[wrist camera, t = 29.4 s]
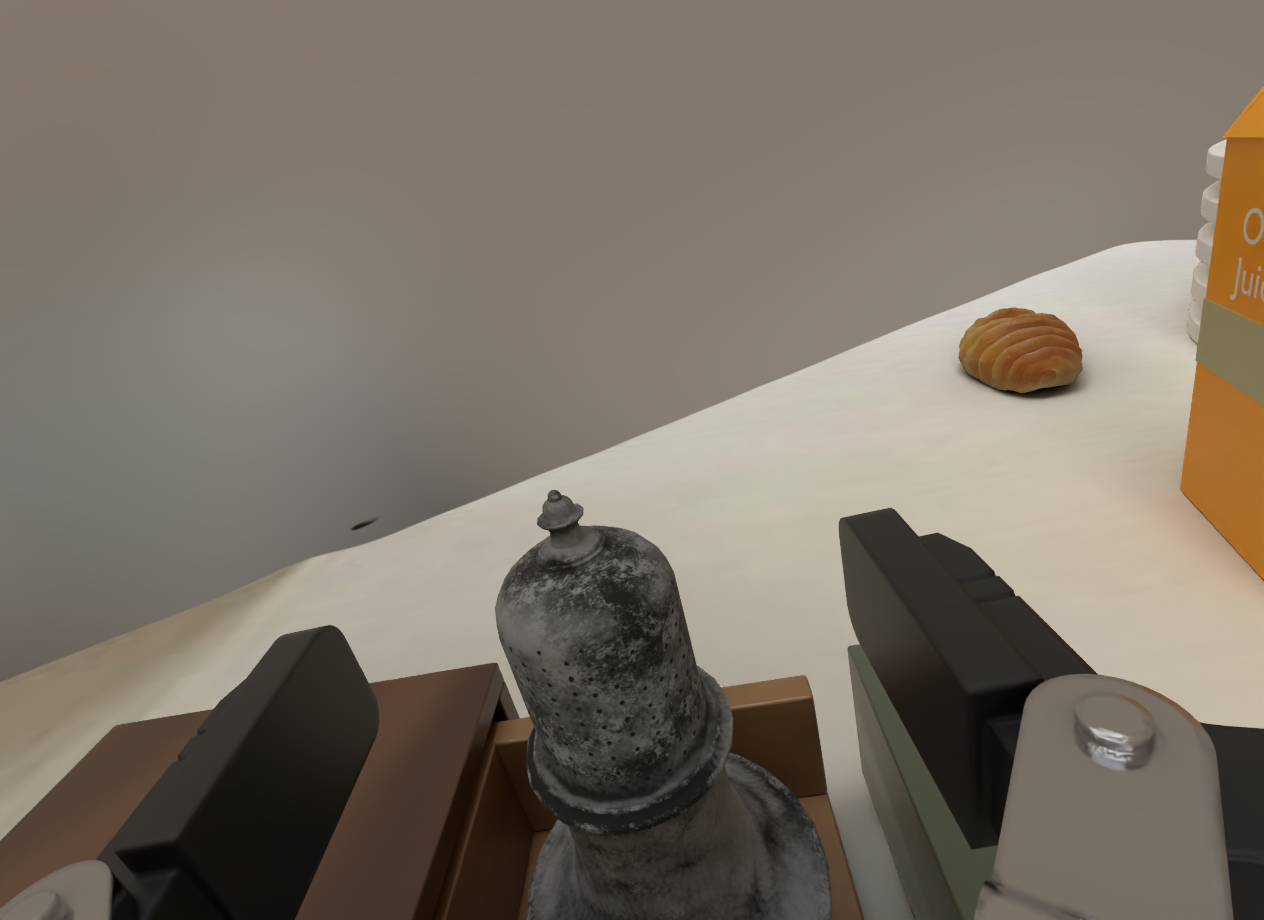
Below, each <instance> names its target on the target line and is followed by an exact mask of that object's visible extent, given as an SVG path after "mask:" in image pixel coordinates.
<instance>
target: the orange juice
mask: <svg viewBox="0 0 1264 920" xmlns="http://www.w3.org/2000/svg"><path fill="white" fill-rule="evenodd" d="M1223 137H1227V141H1226V148H1225V156H1224V163H1223V171H1222V178H1221V186H1220V193H1219V201H1218V208H1217V216H1216V223H1215V231H1214V238H1213V246H1212V253H1211V261H1210V268H1209V276H1208V283H1207V291H1206V298H1204V301H1203V308H1202V316H1201V323H1200V331H1199V338H1198V346H1197V354H1196V361H1197V366H1196V373H1195V381H1194V388H1193V396H1192V403H1191V411H1190V418H1189V426H1188V433H1187V441H1186V448H1185V456H1184V463H1183V471H1182V478H1181V486H1180V490H1181V491H1182V492H1183V493H1184V494H1185V495H1186V496H1187V497H1188V498H1189V499H1190V500H1191V501H1192V503H1193V504H1194V505H1195V506H1196V507H1197V508H1198V509H1199V510H1200V511H1201V512H1202V513H1203V515H1204V516H1205V517H1206V518H1207V519H1208V520H1209V521H1210V522H1211V523H1212V524H1213V525H1214V526H1215V528H1216V529H1217V530H1218V531H1219V532H1220V533H1221V534H1222V535H1223V536H1224V537H1225V538H1226V539H1227V541H1228V542H1229V543H1230V544H1231V545H1232V546H1233V547H1234V548H1235V549H1236V550H1237V551H1238V552H1239V554H1240V555H1241V556H1242V557H1243V558H1244V559H1245V560H1246V561H1247V562H1248V563H1249V564H1250V566H1251V567H1252V568H1253V569H1254V570H1255V571H1256V572H1257V573H1258V574H1259V575H1260V576H1261V577H1262V579H1263V580H1264V86H1263V87H1262V88H1261V90H1260V91H1259V92H1258V93H1257V95H1256V96H1255V97H1254V98H1253V100H1252V101H1251V102H1250V104H1249V105H1248V106H1247V107H1246V108H1245V110H1244V111H1243V112H1242V113H1241V114H1240V116H1239V117H1238V118H1237V120H1236V121H1235V122H1234V123H1233V125H1232V126H1231V127H1230V128H1229V129H1228V131H1227V132H1226V133H1225V134H1224V136H1223Z"/></svg>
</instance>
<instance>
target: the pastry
mask: <svg viewBox="0 0 1264 920" xmlns="http://www.w3.org/2000/svg"><path fill="white" fill-rule="evenodd" d="M959 348H960V352H959V360H960V362H961V364H962V366H963V368H965V370H966V371H967V373H968V374H970V375H972V376H973V377H974V378H978V379H979V380H981V381H982V382H983V383H984V384H989V385H990V386H991V387H994V388H996V389H998V390H1013V391H1016V392H1020V393H1025V392H1029V391H1034V390H1036V389H1040V388H1045V387H1054V386H1060V385H1067V384H1069V385H1070V384H1071V383H1072V381H1073V380H1074V379H1075V378H1076V376H1077V375H1078V374H1079V373H1080V372H1081V371H1082V363H1081V361H1082V354H1081V353H1082V350H1081V349H1080V348H1079V343H1078V340H1077V338H1076V335H1075V334H1074V332H1073V331H1072V330H1071V329H1070V328H1069V327H1068V326H1067V325H1066V324H1065V323H1064V322H1063V321H1061V320H1060V319H1058V318H1057V317H1056V316H1054V315H1051V314H1043V313H1041V314H1035V312H1034V311H1032V310H1027V309H1019V308H1008V309H1000V310H997V311H995V312H993V313H991V314H990V315H988V316H987V317H985V318H979V319H977V320H976V321H975V323H974V324H973V325H972V326H971V327H970V328H969V329H968V330H967V331H966V332H965V335H964V337H963V338H962V340H961V342H960V345H959Z"/></svg>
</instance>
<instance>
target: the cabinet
mask: <svg viewBox="0 0 1264 920" xmlns="http://www.w3.org/2000/svg"><path fill="white" fill-rule="evenodd" d="M369 685H370V687H371V689H372V691H373V693H374V695H375V697H376V700H377V703H378V708H379V727H378V732H377V736H376V739H375V741H374V743H373V746H372V748H371V750H370V752H369V755H368V757H367V759H366V761H365V764H364V766H363V768H362V770H361V772H360V775H359V777H358V779H357V781H356V784H355V786H354V788H353V790H352V793H351V795H350V797H349V799H348V802H347V804H346V806H345V808H344V811H343V813H342V815H341V817H340V820H339V822H338V824H337V826H336V829H335V831H334V833H333V835H332V838H331V840H330V842H329V844H328V847H327V849H326V851H325V853H324V856H323V858H322V860H321V862H320V865H319V867H318V869H317V871H316V874H315V876H314V878H313V880H312V883H311V885H310V887H309V889H308V892H307V894H306V896H305V898H304V901H303V903H302V905H301V907H300V910H299V912H298V914H297V916H296V919H295V920H432V917H433V914H434V910H435V907H436V904H437V900H438V897H439V894H440V890H441V887H442V884H443V880H444V877H445V874H446V871H447V867H448V864H449V861H450V857H451V854H452V851H453V847H454V844H455V841H456V837H457V834H458V831H459V827H460V824H461V821H462V818H463V814H464V811H465V808H466V804H467V801H468V798H469V794H470V791H471V788H472V784H473V781H474V778H475V774H476V771H477V768H478V765H479V761H480V758H481V755H482V751H483V748H484V745H485V741H486V738H487V735H488V731H489V728H490V725H491V723H494V722H501V721H508V720H514V719H520V718H519V715H518V713H517V710H516V708H515V705H514V703H513V701H512V698H511V696H510V693H509V691H508V688H507V686H506V683H505V682H504V679H503V676H502V674H501V671H500V669H499V666H498V664H497V663H490V664H484V665H478V666H472V667H466V668H460V669H454V670H447V671H441V672H435V673H429V674H423V675H417V676H411V677H405V678H399V679H393V680H387V681H381V682H375V683H369ZM213 710H214V709H212V710H206V711H200V712H194V713H188V714H182V715H175V716H169V717H163V718H157V719H151V720H145V721H139V722H133V723H127V724H121V725H116V726H115V727H113V728H112V729H111V730H110V731H109V732H108V733H107V734H106V735H105V736H104V737H103V738H102V739H101V740H100V741H99V742H98V743H97V744H96V745H95V746H94V747H93V748H92V749H91V750H90V751H89V752H88V754H87V755H86V756H85V757H84V758H83V759H82V760H81V761H80V762H79V763H78V764H77V765H76V766H75V767H74V768H73V769H72V770H71V771H70V772H69V773H68V774H67V775H66V776H65V777H64V778H63V779H62V780H61V781H60V782H59V783H58V784H57V785H56V786H55V787H54V788H53V789H52V790H51V791H50V792H49V793H48V794H47V795H46V796H45V797H44V798H43V799H42V800H41V801H40V802H39V803H38V804H37V805H36V806H35V807H34V808H33V809H32V810H31V811H30V812H29V813H28V814H27V815H26V816H25V817H24V818H23V819H22V820H21V821H20V822H19V823H18V824H17V825H16V826H15V827H14V828H13V829H12V830H11V831H10V832H9V833H8V834H7V835H6V836H5V837H4V838H3V839H2V840H1V841H0V909H1V908H2V907H3V906H4V905H5V904H7V903H8V902H9V901H10V900H12V899H13V898H14V897H15V896H17V895H18V894H20V893H21V892H22V891H24V890H25V889H26V888H28V887H29V886H31V885H33V884H34V883H36V882H37V881H39V880H40V879H42V878H44V877H46V876H47V875H49V874H51V873H53V872H55V871H57V870H59V869H61V868H63V867H66V866H68V865H71V864H74V863H77V862H82V861H86V860H96V858H97V857H98V856H99V855H100V853H101V852H102V851H103V849H104V848H105V847H106V846H107V844H108V843H109V842H110V841H111V839H112V838H113V837H114V835H115V834H116V833H117V832H118V830H119V829H120V828H121V827H122V825H123V824H124V823H125V821H126V820H127V819H128V818H129V816H130V815H131V814H132V813H133V811H134V810H135V809H136V807H137V806H138V805H139V804H140V802H141V801H142V800H143V799H144V797H145V796H146V795H147V793H148V792H149V791H150V790H151V788H152V787H153V786H154V785H155V783H156V782H157V781H158V779H159V778H160V777H161V776H162V774H163V773H164V772H165V771H166V769H167V768H168V767H169V766H170V764H171V763H172V762H176V761H177V760H178V756H177V755H178V754H179V753H180V752H181V750H182V749H183V748H184V746H185V745H186V744H187V743H188V741H189V740H190V739H191V738H192V737H193V736H197V730H198V729H199V727H200V726H201V725H202V724H203V722H204V721H205V720H206V718H207V717H208V716H209V715H210V713H211V712H212V711H213Z"/></svg>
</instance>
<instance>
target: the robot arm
mask: <svg viewBox="0 0 1264 920" xmlns="http://www.w3.org/2000/svg"><path fill="white" fill-rule="evenodd" d="M839 538H840V546H841V555H842V564H843V572H844V581H845V590H846V598H847V605H848V610H849V615H850V618H851V622H852V625H853V628H854V631H855V634H856V636H857V639H858V641H859V643H860V645H861V647H862V649H863V651H864V652H865V654H866V656H867V658H868V660H869V662H870V664H871V665H872V667H873V669H874V671H875V673H876V675H877V676H878V678H879V680H880V682H881V684H882V686H883V687H884V689H885V691H886V693H887V695H888V697H889V699H890V700H891V702H892V704H893V706H894V708H895V710H896V711H897V713H898V715H899V717H900V719H901V721H902V723H903V724H904V726H905V728H906V730H907V732H908V734H909V735H910V737H911V739H912V741H913V743H914V745H915V747H916V748H917V750H918V752H919V754H920V756H921V758H922V759H923V761H924V763H925V765H926V767H927V769H928V770H929V772H930V774H931V776H932V778H933V780H934V782H935V783H936V785H937V787H938V789H939V791H940V793H941V794H942V796H943V798H944V800H945V802H946V804H947V806H948V807H949V809H950V811H951V813H952V815H953V817H954V818H955V820H956V822H957V824H958V826H959V828H960V829H961V831H962V833H963V835H964V837H965V839H966V841H967V842H968V844H969V846H970V848H971V850H973V849H979V848H985V847H990V846H996V845H998V849H997V854H996V859H995V864H994V869H993V874H992V877H991V880H990V882H988V881H985V882H984V884H983V886H982V889H981V892H980V895H979V899H978V903H977V907H976V911H975V916H974V920H1264V729H1260V728H1246V727H1232V726H1221V725H1213V724H1205V723H1200V722H1198V721H1197V720H1196V719H1195V718H1194V717H1193V716H1192V715H1191V714H1190V713H1189V712H1187V711H1186V710H1185V709H1183V708H1182V707H1181V706H1179V705H1178V704H1177V703H1175V702H1173V701H1172V700H1170V699H1168V698H1167V697H1165V696H1163V695H1162V694H1160V693H1157V692H1155V691H1153V690H1151V689H1149V688H1147V687H1144V686H1142V685H1139V684H1136V683H1133V682H1130V681H1127V680H1123V679H1119V678H1115V677H1110V676H1104V675H1098V674H1097V673H1096V672H1095V671H1094V670H1093V669H1092V668H1091V667H1090V666H1089V665H1088V664H1087V663H1086V662H1085V661H1084V660H1083V659H1082V658H1081V657H1080V656H1079V655H1078V654H1077V653H1076V652H1075V651H1074V650H1073V649H1072V648H1071V647H1070V646H1069V645H1068V644H1067V643H1066V642H1065V641H1064V640H1063V639H1062V638H1061V637H1060V636H1059V635H1058V634H1057V633H1056V632H1055V631H1054V630H1053V629H1052V628H1051V627H1050V626H1049V625H1048V624H1047V623H1046V622H1045V621H1044V620H1043V619H1042V618H1041V617H1040V616H1039V615H1038V614H1037V613H1036V612H1035V611H1034V610H1033V609H1032V608H1031V607H1030V606H1029V605H1028V604H1027V603H1026V602H1025V601H1024V600H1023V599H1022V598H1021V597H1020V596H1015V594H1014V590H1013V589H1012V588H1011V587H1010V586H1009V585H1008V584H1007V583H1006V582H1005V581H1004V580H1003V579H1002V578H1001V577H1000V576H996V575H995V573H994V571H993V570H992V569H991V568H990V567H989V566H988V565H987V564H986V563H985V562H984V561H983V560H982V559H981V558H980V557H979V556H978V555H977V554H976V553H975V552H974V551H973V550H972V549H971V548H969V547H967V546H965V545H963V544H961V543H959V542H956V541H954V540H952V539H950V538H948V537H946V536H944V535H942V534H940V533H934V534H929V535H924V536H920V537H918V535H917V534H916V533H915V532H914V531H913V530H912V529H911V528H910V526H909V525H908V524H907V523H906V522H905V521H904V520H903V519H902V517H901V516H900V515H899V514H898V513H897V512H896V511H895V510H894V509H892V508H887V509H882V510H877V511H872V512H868V513H863V514H858V515H854V516H849V517H844V518H841V519H840V521H839ZM378 727H379V708H378V703H377V700H376V697H375V695H374V693H373V691H372V689H371V687H370V685H369V683H368V681H367V679H366V677H365V675H364V673H363V671H362V669H361V667H360V666H359V664H358V662H357V660H356V658H355V656H354V654H353V652H352V650H351V648H350V646H349V644H348V642H347V640H346V639H345V637H344V635H343V633H342V632H341V631H340V630H339V629H338V628H337V627H335V626H331V625H328V626H323V627H318V628H313V629H309V630H304V631H299V632H294V633H290V634H285V635H282V636H280V637H279V638H278V639H277V640H276V641H275V642H274V643H273V645H272V646H271V647H270V648H269V650H268V651H267V652H266V654H265V655H264V656H263V658H262V659H261V660H260V661H259V663H258V664H257V665H256V667H255V668H254V669H253V671H252V672H251V673H250V674H249V676H248V677H247V678H246V679H245V680H244V681H243V682H242V683H241V684H239V685H238V686H237V687H236V688H235V689H234V690H232V691H231V692H230V693H229V694H228V695H227V696H225V697H224V698H223V699H222V700H221V701H220V702H219V703H218V704H217V706H216V707H215V708H214V710H213V711H212V712H211V713H210V715H209V716H208V717H207V718H206V720H205V721H204V722H203V724H202V725H201V726H200V727H199V729H198V730H197V736H193V737H192V738H191V739H190V740H189V741H188V743H187V744H186V745H185V746H184V748H183V749H182V750H181V752H180V753H179V754H178V755H177V756H178V760H177V761H176V762H172V763H171V764H170V766H169V767H168V768H167V769H166V771H165V772H164V773H163V774H162V776H161V777H160V778H159V779H158V781H157V782H156V783H155V785H154V786H153V787H152V788H151V790H150V791H149V792H148V793H147V795H146V796H145V797H144V799H143V800H142V801H141V802H140V804H139V805H138V806H137V807H136V809H135V810H134V811H133V813H132V814H131V815H130V816H129V818H128V819H127V820H126V821H125V823H124V824H123V825H122V827H121V828H120V829H119V830H118V832H117V833H116V834H115V835H114V837H113V838H112V839H111V841H110V842H109V843H108V844H107V846H106V847H105V848H104V849H103V851H102V852H101V853H100V855H99V856H98V857H97V858H96V860H86V861H82V862H77V863H74V864H71V865H68V866H66V867H63V868H61V869H59V870H57V871H55V872H53V873H51V874H49V875H47V876H46V877H44V878H42V879H40V880H39V881H37V882H36V883H34V884H33V885H31V886H29V887H28V888H26V889H25V890H24V891H22V892H21V893H20V894H18V895H17V896H15V897H14V898H13V899H12V900H10V901H9V902H8V903H7V904H5V905H4V906H3V907H2V908H1V909H0V920H295V919H296V916H297V914H298V912H299V910H300V907H301V905H302V903H303V901H304V898H305V896H306V894H307V892H308V889H309V887H310V885H311V883H312V880H313V878H314V876H315V874H316V871H317V869H318V867H319V865H320V862H321V860H322V858H323V856H324V853H325V851H326V849H327V847H328V844H329V842H330V840H331V838H332V835H333V833H334V831H335V829H336V826H337V824H338V822H339V820H340V817H341V815H342V813H343V811H344V808H345V806H346V804H347V802H348V799H349V797H350V795H351V793H352V790H353V788H354V786H355V784H356V781H357V779H358V777H359V775H360V772H361V770H362V768H363V766H364V764H365V761H366V759H367V757H368V755H369V752H370V750H371V748H372V746H373V743H374V741H375V739H376V736H377V732H378Z"/></svg>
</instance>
